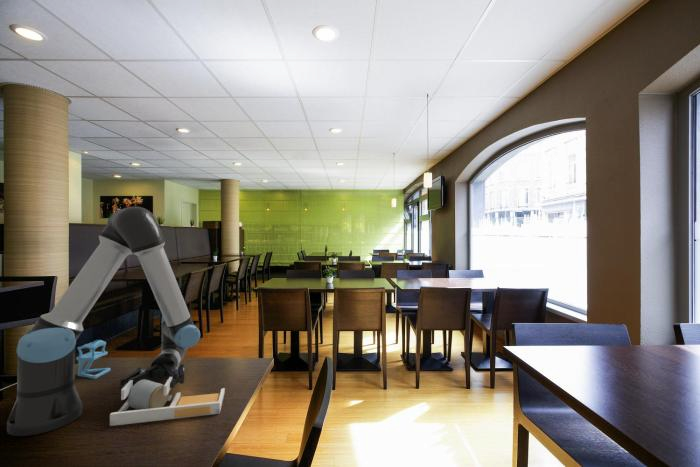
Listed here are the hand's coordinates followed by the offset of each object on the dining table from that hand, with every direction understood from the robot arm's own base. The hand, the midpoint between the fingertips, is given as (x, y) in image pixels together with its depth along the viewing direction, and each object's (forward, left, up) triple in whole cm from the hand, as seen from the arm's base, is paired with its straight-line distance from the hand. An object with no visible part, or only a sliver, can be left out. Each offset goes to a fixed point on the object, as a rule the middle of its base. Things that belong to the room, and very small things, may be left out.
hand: (144, 392), depth 95 cm
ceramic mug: (+1, +6, -7) cm, 9 cm away
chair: (-28, +37, -7) cm, 46 cm away
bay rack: (+6, +4, -6) cm, 10 cm away
